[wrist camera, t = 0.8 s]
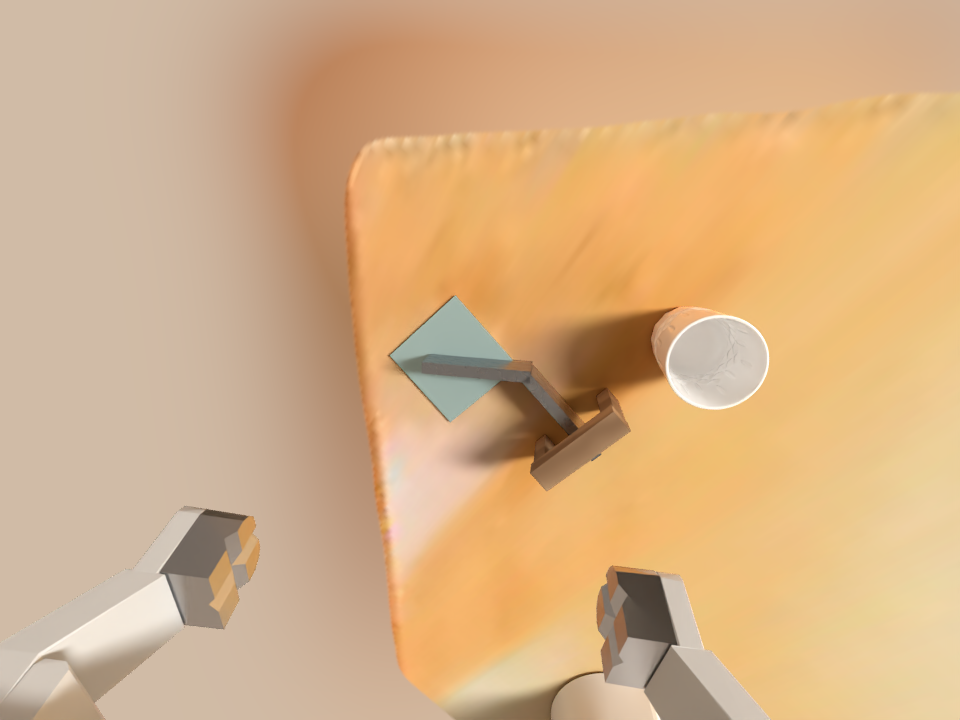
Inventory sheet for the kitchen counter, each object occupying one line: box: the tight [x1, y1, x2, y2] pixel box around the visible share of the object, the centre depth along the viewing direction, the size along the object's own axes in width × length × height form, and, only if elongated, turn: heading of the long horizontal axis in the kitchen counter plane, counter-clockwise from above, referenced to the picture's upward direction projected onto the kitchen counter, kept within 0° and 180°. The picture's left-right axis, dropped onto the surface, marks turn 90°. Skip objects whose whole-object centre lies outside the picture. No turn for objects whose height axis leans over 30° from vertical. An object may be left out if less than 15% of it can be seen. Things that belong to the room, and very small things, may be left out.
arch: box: [530, 388, 630, 491], centre depth 49 cm, size 2×10×8 cm, turn 132°
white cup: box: [651, 306, 769, 410], centre depth 44 cm, size 8×8×10 cm
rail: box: [422, 354, 601, 461], centre depth 52 cm, size 19×9×4 cm, turn 42°
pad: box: [390, 295, 513, 422], centre depth 53 cm, size 10×10×1 cm
